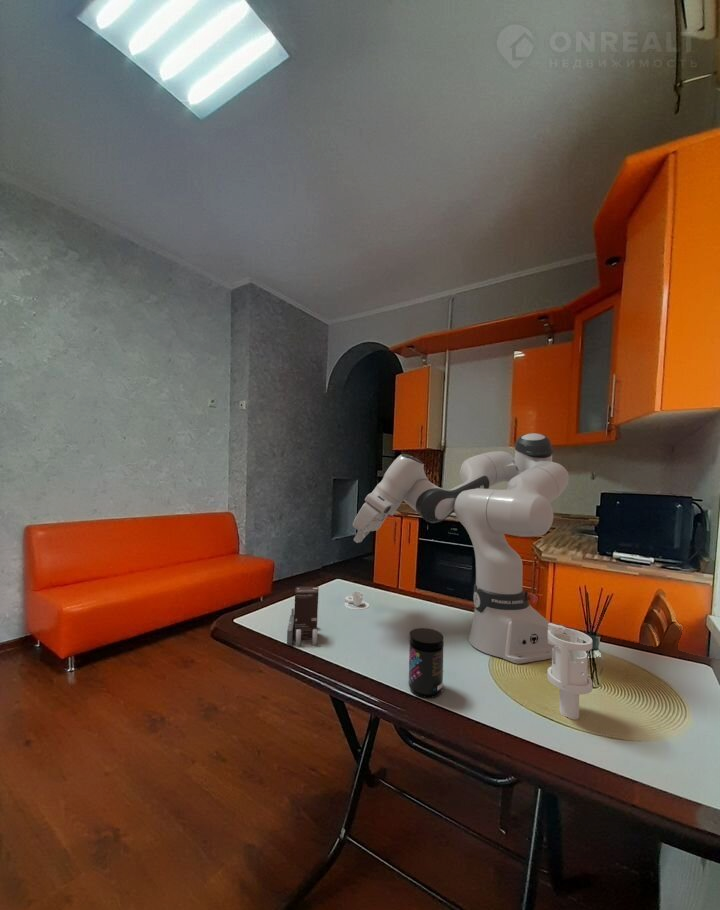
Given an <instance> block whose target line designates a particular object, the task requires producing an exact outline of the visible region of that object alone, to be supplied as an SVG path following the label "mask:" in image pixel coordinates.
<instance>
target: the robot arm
mask: <svg viewBox="0 0 720 910" xmlns="http://www.w3.org/2000/svg"><path fill="white" fill-rule="evenodd" d="M514 449H515V454H514V457H513V456H512V455H511V454H510V453H508V452H506V451H504V450H503V451H502V450H495V451H489V452H484V453H480V454H476V455H474V456H470V457H468V458H466V459H465V460H463V462H462V463H461V467H460V469H459V478H460V481H461V484H459V485H457V486H455V487H453V488H450V489H447V488H442V487H439V486H438V485H436V484H434V483H433V482H431V481H430V480H429V478H428V477H427V475H426V473H425V469H424V467H425V463H424V462H423V461H422V460H420V459H418V458H416V457H414V456H412V455H410V454H407V453H402V454H400V455H398V456H397V457H396V458H395V459H394V460H393V462H392V463H391V464H390V465H389V467H388V468H387V469H386V471H385V473H384V474H383V477H382V479H381V481H380V482H379V483H377V485H376V486H375V487H374V489H373V490H372V492H370V493H368V494H367V495H366V496H365V498H364V501H365V502H364V503H363V504H362V506H361V508H360V509H359V510H358V513H357V515H356V516H355V518H354V520H353V521H352V527H353V528H354V529H355V530H357V532H356V534H355V535H354V538H353V541H354V542H355V543H356V544H358V543H362V542H363V541H364V539H365V538H366V537H367V536H368V534H370V532H375V531H379V529H380V528H381V527H382V526H383V524H384V522H385V521H386V519H387V518H388V516H392V517H393V516H394V515H395V513H396V511H397V510H398V509H399V507H400V506H401V504H402V503H403V502H405V504H406V505H408V506H409V507H410V508H412V510H414V511H415V512H416V513H417V514H418V515H419V516H420V517H422V519H423V520H424V521H426V522H427V523H429V524H430V523H431V524H436V523H439V522H442V521H445V520H446V519H447V518H449V517H450V516H451V515H452V514H453V513H454V514H455V517H456V519H457V520H458V522H460V524H461V525H462V526H463V527H464V529H465V530H466V532H467V534H468V535H469V538H470V540H471V543H472V547H473V551H474V558H475V583H474V585H473V607H474V610H473V618H472V624H471V628H470V633H469V635H468V637H467V638H468V642H469V644H470V645H471V646H473V647H474V648H475V649H476V650H479V651H480V652H482V653H483V654H484V653H485V654H487V655H490V656H494V657H497V658H501V659H504V660H506V661H508V662H511V663H514V664H517V665H518V664H525V663H530V662H531V663H532V662H537V661H544V660H552V648H553V647H555V646H554V645H551V644H548V624H549V623H550V622H549V621H548V620H547V618H545V617H544V616H543V615H541V613H540V612H538V610H536V609H534V607H532V606H531V604H530V603H533V604H536V603H537V602H538V601H539V597H538V595H537V594H535V593H534V594H533V592H528V591H526V590H525V589H523V565H524V564H523V560H522V558H521V556H520V554H519V553H518V552H517V551H516V550H515V549H514V548H512V547H511V545H509V543H508V541H507V539H506V536H505V535H509V536H510V535H511V536H515V537H520V538H521V537H527V538H528V537H529V538H531V537H532V538H533V537H541V536H544V535H546V534H547V532H548V531H549V530H550V528H551V527H552V525H553V521H554V509H553V508H552V505H551V503H552V502H554V501H555V500H556V499H557V498H559V497H560V496H561V494H562V493H564V491H565V490H566V488H567V486H568V485H569V481H570V477H569V476H570V475H569V472H568V471H567V469H566V468H565V467H564V466H563V465H562V464H560V463H558V462H554V461H553V453H554V451H553V445H552V441H551V440H550V438H549V437H548V436H547V435H545V434H542V433H533V432H532V433H527V434H523V435H520V436H519V437H518V438H517V439H516V441H515V447H514ZM502 482H508V483H507V486H506V489H495V488H490V487H491V486H495V485H496V484H499V483H502ZM529 601H530V603H529Z"/></svg>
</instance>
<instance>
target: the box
mask: <svg viewBox="0 0 720 910" xmlns="http://www.w3.org/2000/svg"><path fill="white" fill-rule="evenodd" d="M319 590H320V588H319V586H296V587H295V593H294V607H293V608H294V628H293V641H294V640H295V641H296V630H297V629H301V640H312V635H313V629H318V620H317V614H318V613H319V612H318V611H319Z"/></svg>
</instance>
